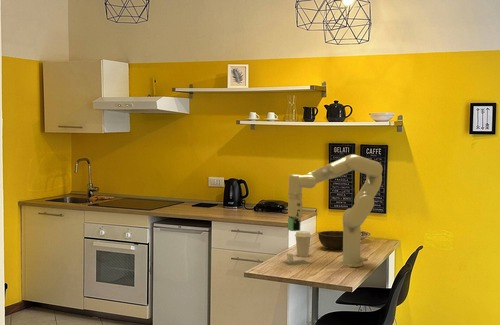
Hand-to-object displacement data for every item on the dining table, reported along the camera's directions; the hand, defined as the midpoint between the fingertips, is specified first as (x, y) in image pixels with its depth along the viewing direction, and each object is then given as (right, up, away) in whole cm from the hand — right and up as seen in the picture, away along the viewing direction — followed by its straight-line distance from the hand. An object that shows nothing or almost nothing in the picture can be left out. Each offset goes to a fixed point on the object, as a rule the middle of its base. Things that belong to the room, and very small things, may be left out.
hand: (294, 228), depth 324 cm
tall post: (-2, -19, 0) cm, 19 cm away
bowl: (+30, -18, +47) cm, 58 cm away
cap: (0, -1, 0) cm, 1 cm away
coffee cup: (+7, -19, +20) cm, 29 cm away
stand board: (+1, -20, +1) cm, 20 cm away
